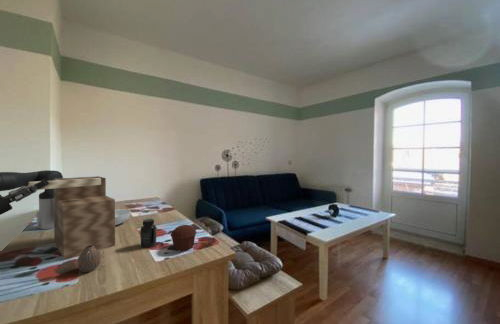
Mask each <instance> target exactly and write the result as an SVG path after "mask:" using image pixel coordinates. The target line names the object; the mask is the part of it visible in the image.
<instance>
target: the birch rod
mask: <svg viewBox="0 0 500 324" xmlns="http://www.w3.org/2000/svg"><path fill="white" fill-rule="evenodd" d="M39 182H41V181H37V182H28V183H29V186H31V185H34V184H36V183H39ZM48 183H49V184H48V185H46V186H44V187H42V188H40V189H38V190H37V191H40V190H45V189H53V188H66V187H79V186H92V185H101V178H89V179H72V180H54V181H48ZM34 186H35V185H34Z"/></svg>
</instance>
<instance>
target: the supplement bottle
mask: <svg viewBox="0 0 500 324" xmlns="http://www.w3.org/2000/svg"><path fill="white" fill-rule="evenodd" d="M139 230H140V247H142V248H151V247H153V246H156V244H157V225H156V224H155V219H154V218H147V219H143V221H142V226H141V227H140V229H139Z"/></svg>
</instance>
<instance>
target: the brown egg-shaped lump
mask: <svg viewBox="0 0 500 324" xmlns="http://www.w3.org/2000/svg"><path fill="white" fill-rule="evenodd" d="M101 260H102V254H101V252H100V250H97V249H96V248H95V247H94V246H93V245H89V246H86V247H85V249H84V250H83V252H82V253H81V254H80V256H78V258H77V264H76V265H77V268H78V270H79V271H81V272H82V273H89V272H93V271H95V270H96V269H97V268H98V267H99V266H100V264H101Z"/></svg>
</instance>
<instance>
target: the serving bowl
mask: <svg viewBox="0 0 500 324" xmlns="http://www.w3.org/2000/svg"><path fill="white" fill-rule="evenodd" d="M131 213H132V212H131V210H130V209H122V208H121V209H115V226H118V225H120V224H122V223H124V222H126V221H127V220H128V219H129V218H130V217H131Z"/></svg>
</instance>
